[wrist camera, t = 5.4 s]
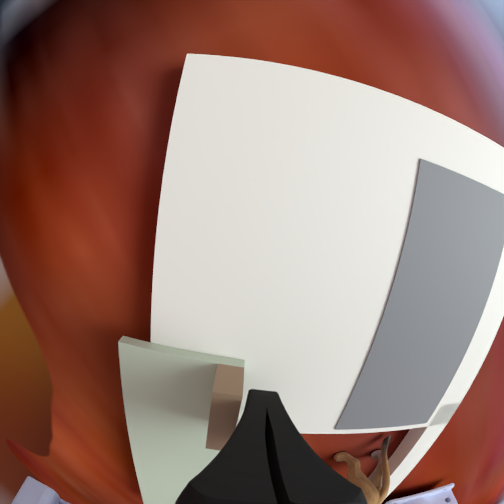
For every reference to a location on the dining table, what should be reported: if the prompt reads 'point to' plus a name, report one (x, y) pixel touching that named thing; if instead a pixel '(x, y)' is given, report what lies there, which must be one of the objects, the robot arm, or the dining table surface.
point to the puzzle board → (330, 247)
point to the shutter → (176, 412)
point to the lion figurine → (377, 481)
